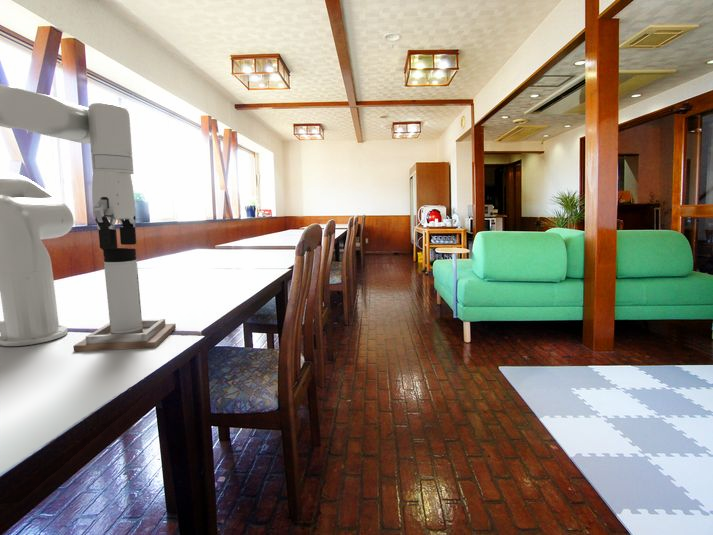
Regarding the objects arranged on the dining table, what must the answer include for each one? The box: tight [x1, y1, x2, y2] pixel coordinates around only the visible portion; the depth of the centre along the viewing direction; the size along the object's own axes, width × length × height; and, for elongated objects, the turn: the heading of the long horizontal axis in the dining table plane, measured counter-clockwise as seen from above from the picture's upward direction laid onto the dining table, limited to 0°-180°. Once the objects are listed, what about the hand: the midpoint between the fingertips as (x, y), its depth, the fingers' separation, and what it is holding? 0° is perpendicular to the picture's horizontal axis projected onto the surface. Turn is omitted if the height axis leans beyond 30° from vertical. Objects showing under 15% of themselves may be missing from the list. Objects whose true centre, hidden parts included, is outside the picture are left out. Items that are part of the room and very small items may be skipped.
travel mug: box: [101, 247, 143, 334], centre depth 90 cm, size 6×7×20 cm
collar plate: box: [73, 318, 176, 352], centre depth 92 cm, size 16×14×3 cm
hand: (119, 246), depth 89 cm, fingers open, 9 cm apart
